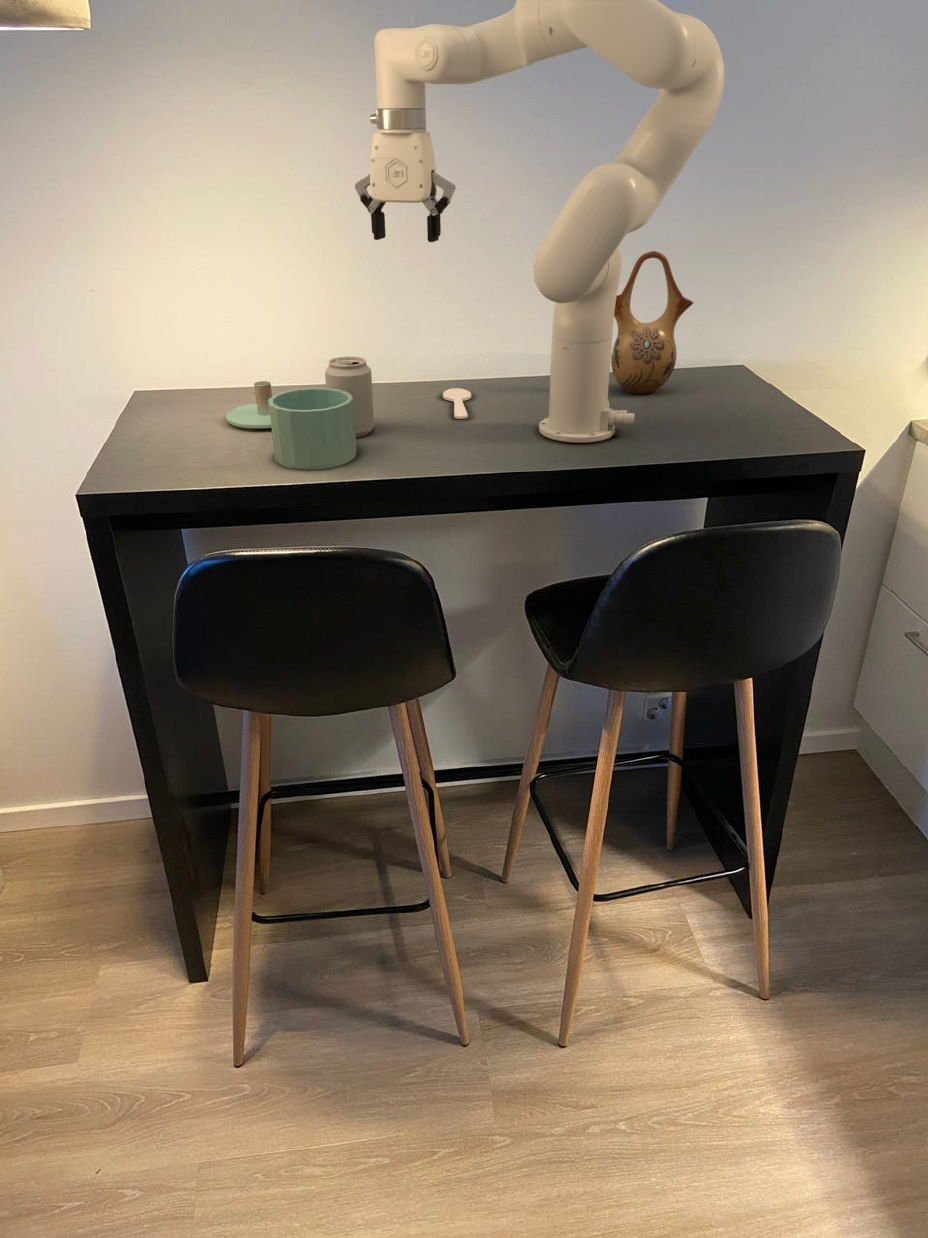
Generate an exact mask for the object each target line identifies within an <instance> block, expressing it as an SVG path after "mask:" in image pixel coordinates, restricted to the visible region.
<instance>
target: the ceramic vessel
mask: <svg viewBox="0 0 928 1238" xmlns="http://www.w3.org/2000/svg"><path fill="white" fill-rule="evenodd" d="M649 259H657V260H659V261H660V262H661V265H662V267H663V268H662V269H663V271H664V276H665V282H666V289H667V301H666V307H665V310H664V311H663V313H662V314H661V315H660V316H659V317H658V318H657V319H655V320H653V321H650V322H641V321H639V320H638V319H637V318H636V317H635V316H634V315H633V313H632V310H631V300H632V293H633V290H634V286H635V282H636V279H637V277H638V274H639V273H640V270H641V267H642V265H643V263H644V262H645V261H646V260H649ZM693 304H694V302H693V301H692V300H691V299H689V298H687V297H685V296H683V293H682V292H681V290H680V289H679V287H678V285H677V283H676V280H675V279H674V276H673V273H672V269H671V266H670V263H669V260H668V258H667V256H665V255H664V253H661V252H659V251H655V250H651V251H647V252H645V253H643V254H642V255H640V256H639V257H638V258H637V260H636V262H635V264H634V266H633V268H632V270H631V272H630V275H629V277H628V279H627V282H626V285H625V286H624V288H623V290H622V292H621V293H620V294H617V297H616V303H615V311H614V320H615V321H616V325H617V335H616V339H615V341H614V343H613V346H612V348H611V359H610V367H611V371H612V374H613V376H614V378H615V381H616V382H617V384H619V385H620V387H621V388H622V389H623V390H624V391H626V392H628V393H631V394H640V395H645V394H653V393H654V392H656V391H658V390H659V389H661V387H663V386H664V385H665V384H666V383H667V382H668V380H669V379H670V377H671V375H672V374H673V372H674V369H675V367H676V364H677V363H676V362H677V351H678V350H677V345H676V341H675V328H676V325H677V323H678V321H679V320H680V317H682V315H683V314H684V313H685V312H686V311H687V310H688V309H689V308H690V307H691V306H693Z"/></svg>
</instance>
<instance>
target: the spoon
mask: <svg viewBox="0 0 928 1238" xmlns="http://www.w3.org/2000/svg"><path fill="white" fill-rule="evenodd" d="M442 398H443V399H444V400H446V401H449V402H453V403H454V404H453V417H454V418H455V419H456V420H457V419H458V420H463V419H467V418H468V417H469V415H468V412H467V409H466V407H465V404H464V402H465V401H468V400H470V399H472V393H471V391H469V390H467V389H465V388H461V387H460V388H459V387H456V388H455V387H453V388H449V389H446V390H444V391H443V393H442Z"/></svg>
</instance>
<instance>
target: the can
mask: <svg viewBox="0 0 928 1238" xmlns="http://www.w3.org/2000/svg"><path fill="white" fill-rule="evenodd" d="M327 364H328V366H327V367H326V369H325V370H324V378H325V388H332V389H338V390H343V391H345V392H347V393H350V394H351V396H352V398H353V406H354V421H355V435H356V438H359V437H364V436H366V435H368V434H370V432H371V431H372V430H373V429H374V428H375V413H374V412H375V411H374V398H373V397H374V394H373V393H374V392H373V379H372V368H371V367H370V366H369V365H368V363H367V359H366V358H364V357H361V356H350V355H349V356H348V355H347V356H337V357H334V358H331V359H329V360H328V362H327Z"/></svg>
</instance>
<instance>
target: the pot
mask: <svg viewBox="0 0 928 1238" xmlns="http://www.w3.org/2000/svg"><path fill="white" fill-rule="evenodd" d="M268 403H269V411H270V420H271V428H270V429H271V437H272V445H273V453H274V460H275V462H276V463H277V464H278V465H280V466H282V467H286V468H288V469H293V470H294V469H296V470H305V471H306V470H309V471H310V470H311V471H312V470H324V469H330V468H337V467H339V466H343V465H345V464H348V463H349V462H351V461H352V460H354V459H355V458H356V456H357V451H358V450H357V440H356V439H357V437H356V435H355V421H354V406H353V398H352V396H351V394H350V393H347V392H345V391H343V390H338V389H332V388H326V387H303V388H295V389H290V390H285V391H281V392H279V393H276V394H274V395H272V397H271V398H270V399H269V400H268Z"/></svg>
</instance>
